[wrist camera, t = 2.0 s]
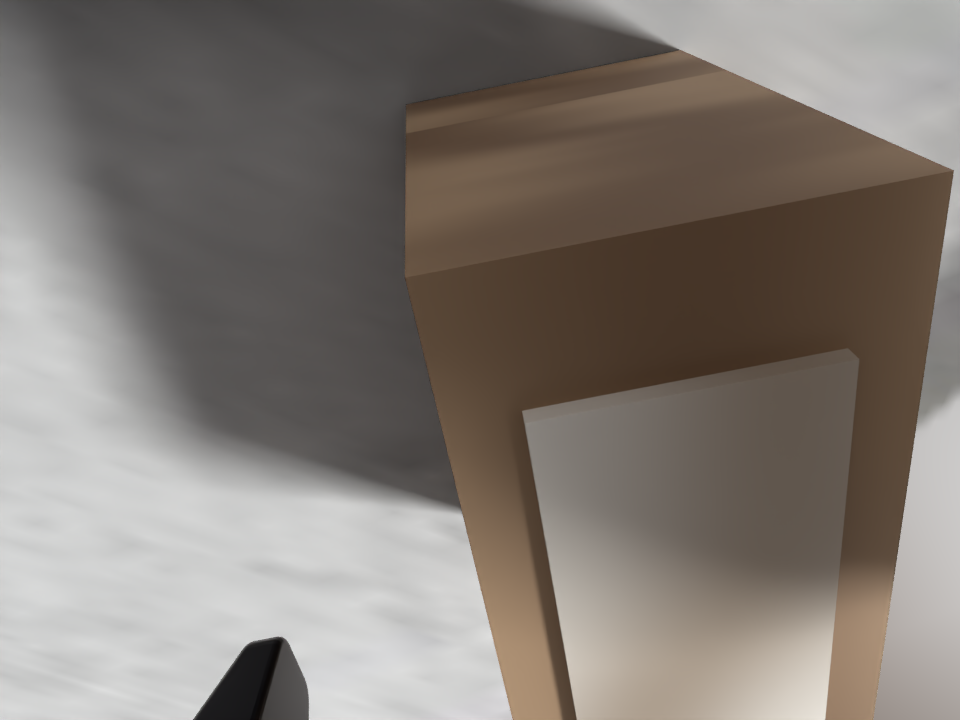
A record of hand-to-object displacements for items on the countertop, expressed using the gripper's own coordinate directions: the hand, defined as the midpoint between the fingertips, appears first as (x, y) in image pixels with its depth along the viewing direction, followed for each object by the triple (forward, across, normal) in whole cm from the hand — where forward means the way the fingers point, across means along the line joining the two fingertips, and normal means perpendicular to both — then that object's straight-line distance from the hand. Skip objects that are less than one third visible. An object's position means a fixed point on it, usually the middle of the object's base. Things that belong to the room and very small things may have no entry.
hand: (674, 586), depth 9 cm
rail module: (+7, 0, 0) cm, 7 cm away
